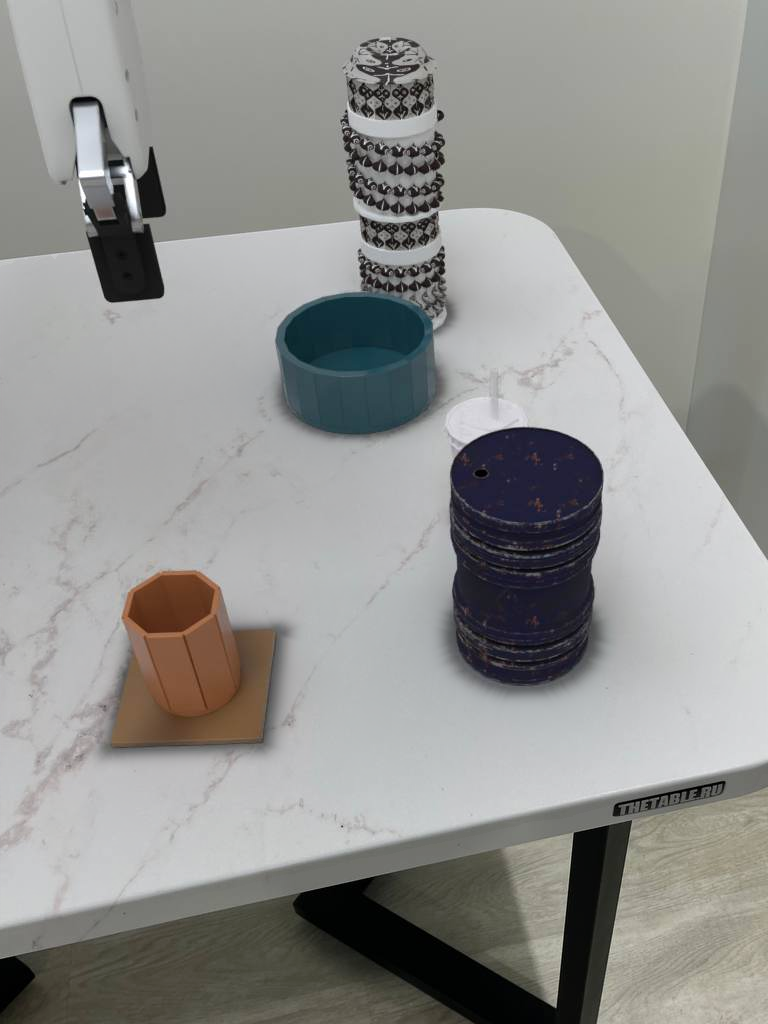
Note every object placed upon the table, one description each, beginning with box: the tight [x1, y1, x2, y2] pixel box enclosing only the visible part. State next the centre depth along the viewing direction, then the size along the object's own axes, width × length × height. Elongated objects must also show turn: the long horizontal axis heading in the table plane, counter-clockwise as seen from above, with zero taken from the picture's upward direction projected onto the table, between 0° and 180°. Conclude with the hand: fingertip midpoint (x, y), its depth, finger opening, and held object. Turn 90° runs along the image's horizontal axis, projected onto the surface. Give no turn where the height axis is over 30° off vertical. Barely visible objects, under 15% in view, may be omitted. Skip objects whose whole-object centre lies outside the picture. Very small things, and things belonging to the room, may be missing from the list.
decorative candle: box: [340, 36, 448, 332], centre depth 98 cm, size 9×9×25 cm
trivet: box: [109, 628, 277, 749], centre depth 73 cm, size 10×10×1 cm
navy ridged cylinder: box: [448, 426, 605, 686], centre depth 71 cm, size 10×10×15 cm
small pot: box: [121, 569, 241, 717], centre depth 70 cm, size 6×6×8 cm
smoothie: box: [443, 367, 530, 460], centre depth 80 cm, size 6×6×14 cm
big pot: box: [274, 291, 437, 435], centre depth 96 cm, size 14×14×6 cm
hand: (138, 255), depth 61 cm, fingers open, 9 cm apart
